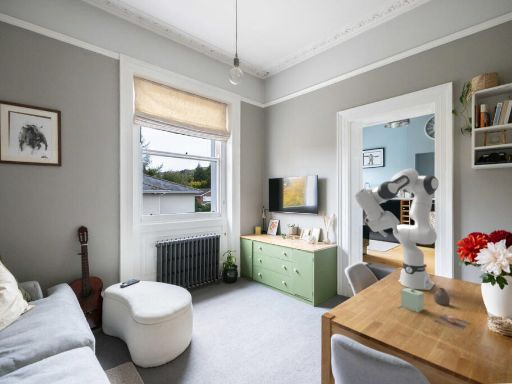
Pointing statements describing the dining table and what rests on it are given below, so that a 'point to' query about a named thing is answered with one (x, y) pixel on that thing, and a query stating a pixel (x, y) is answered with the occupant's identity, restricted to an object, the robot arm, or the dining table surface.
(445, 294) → the brown rounded lump
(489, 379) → the dining table surface
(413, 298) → the mint green lunchbox
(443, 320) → the board
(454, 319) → the bowl
